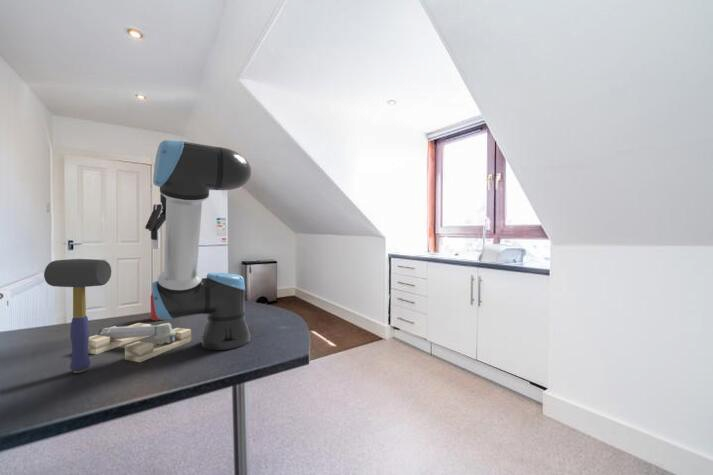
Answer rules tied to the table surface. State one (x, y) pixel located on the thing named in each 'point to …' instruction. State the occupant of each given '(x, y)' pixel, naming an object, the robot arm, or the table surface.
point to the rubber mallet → (78, 299)
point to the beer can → (153, 310)
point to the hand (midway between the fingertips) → (172, 247)
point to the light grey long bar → (141, 332)
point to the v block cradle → (138, 344)
